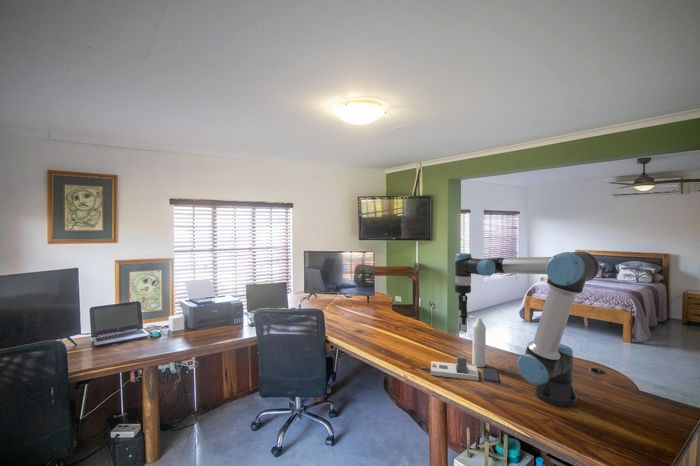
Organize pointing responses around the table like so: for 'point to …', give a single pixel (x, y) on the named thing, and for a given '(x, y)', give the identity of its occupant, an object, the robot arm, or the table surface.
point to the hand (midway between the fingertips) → (462, 326)
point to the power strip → (452, 371)
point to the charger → (461, 364)
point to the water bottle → (478, 343)
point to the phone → (490, 375)
